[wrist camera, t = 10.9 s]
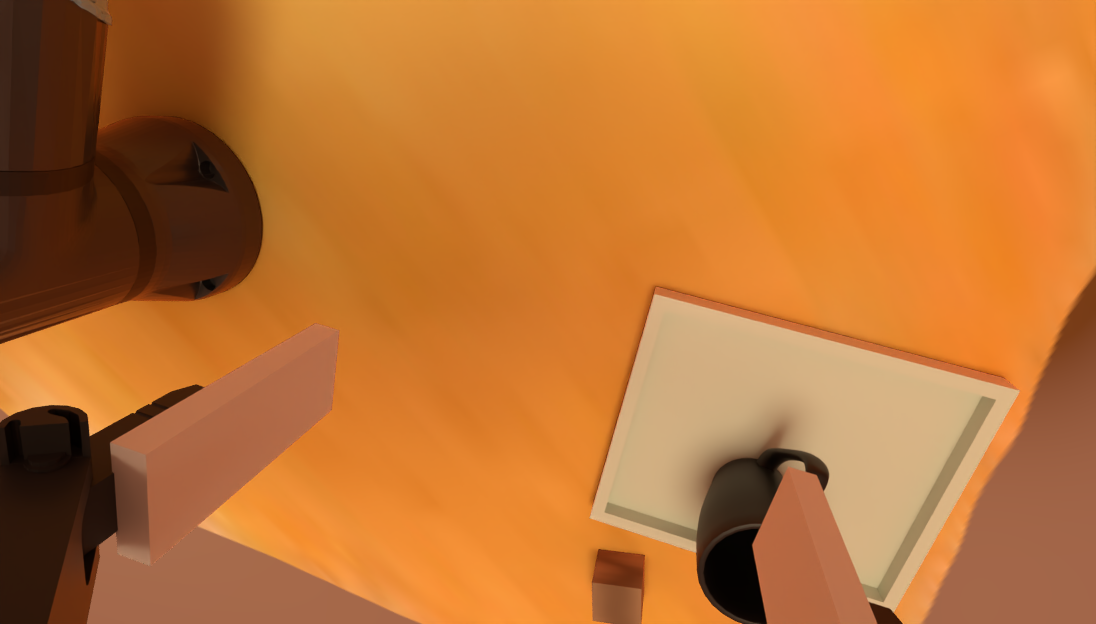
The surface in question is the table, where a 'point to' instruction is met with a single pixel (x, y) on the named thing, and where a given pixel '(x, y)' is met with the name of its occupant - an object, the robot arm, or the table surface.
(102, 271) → the robot arm
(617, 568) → the walnut cube
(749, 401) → the tray
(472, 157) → the table surface
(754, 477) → the mug
